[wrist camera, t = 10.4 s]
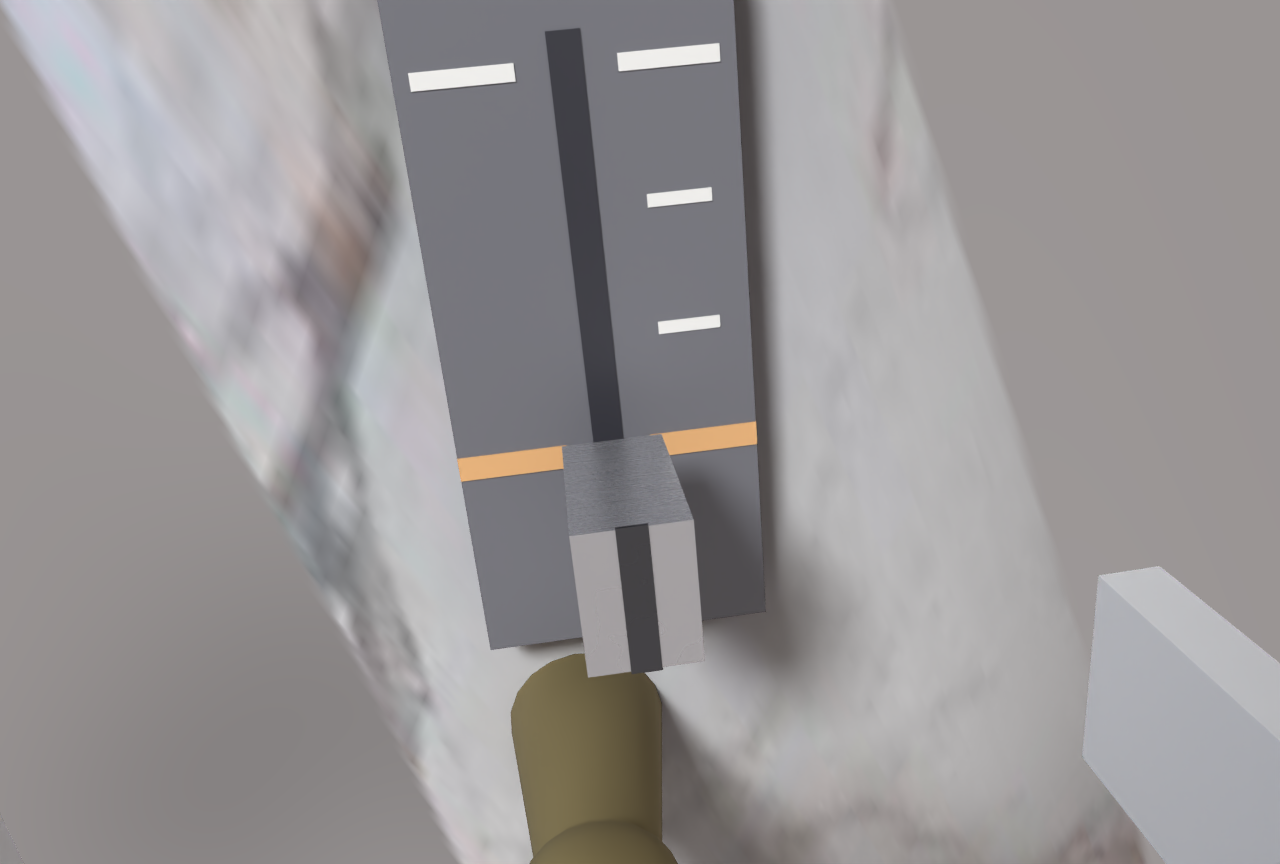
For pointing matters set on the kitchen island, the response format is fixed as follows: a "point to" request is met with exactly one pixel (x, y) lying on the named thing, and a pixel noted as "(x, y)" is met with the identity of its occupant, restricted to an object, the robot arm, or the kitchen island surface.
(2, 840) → the robot arm
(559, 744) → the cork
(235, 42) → the kitchen island surface
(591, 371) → the fader console
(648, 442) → the fader knob
